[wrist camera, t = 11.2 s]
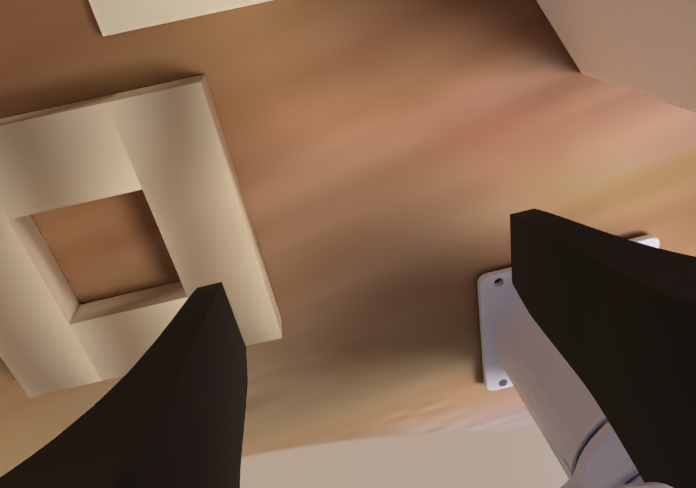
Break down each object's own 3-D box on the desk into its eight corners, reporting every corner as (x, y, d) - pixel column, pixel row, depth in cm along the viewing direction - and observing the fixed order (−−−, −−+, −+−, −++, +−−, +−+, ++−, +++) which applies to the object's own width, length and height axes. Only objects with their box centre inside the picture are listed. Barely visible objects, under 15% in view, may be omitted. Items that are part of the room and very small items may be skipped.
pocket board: (204, 73, 19) (200, 82, 18) (281, 318, 25) (282, 337, 24) (-112, 143, 19) (-140, 155, 18) (41, 375, 25) (29, 398, 24)
